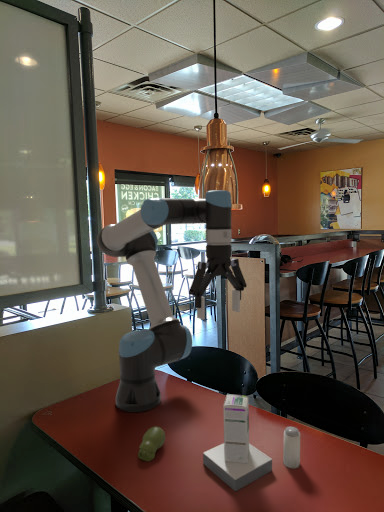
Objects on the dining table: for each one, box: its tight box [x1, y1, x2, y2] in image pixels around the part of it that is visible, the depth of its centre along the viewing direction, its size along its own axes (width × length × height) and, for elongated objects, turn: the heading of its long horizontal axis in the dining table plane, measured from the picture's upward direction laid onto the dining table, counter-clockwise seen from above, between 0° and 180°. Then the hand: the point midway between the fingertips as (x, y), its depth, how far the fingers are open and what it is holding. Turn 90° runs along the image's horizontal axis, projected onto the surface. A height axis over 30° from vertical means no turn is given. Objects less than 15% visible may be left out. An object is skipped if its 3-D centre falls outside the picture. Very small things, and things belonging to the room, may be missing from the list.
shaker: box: [282, 426, 301, 469], centre depth 95 cm, size 4×4×9 cm
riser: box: [202, 442, 273, 492], centre depth 94 cm, size 12×12×3 cm
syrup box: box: [222, 394, 250, 464], centre depth 93 cm, size 6×6×14 cm
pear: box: [137, 426, 166, 462], centre depth 100 cm, size 6×5×10 cm
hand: (219, 314), depth 113 cm, fingers open, 13 cm apart
